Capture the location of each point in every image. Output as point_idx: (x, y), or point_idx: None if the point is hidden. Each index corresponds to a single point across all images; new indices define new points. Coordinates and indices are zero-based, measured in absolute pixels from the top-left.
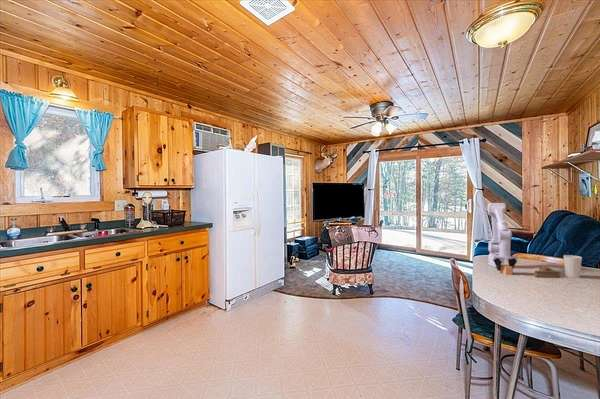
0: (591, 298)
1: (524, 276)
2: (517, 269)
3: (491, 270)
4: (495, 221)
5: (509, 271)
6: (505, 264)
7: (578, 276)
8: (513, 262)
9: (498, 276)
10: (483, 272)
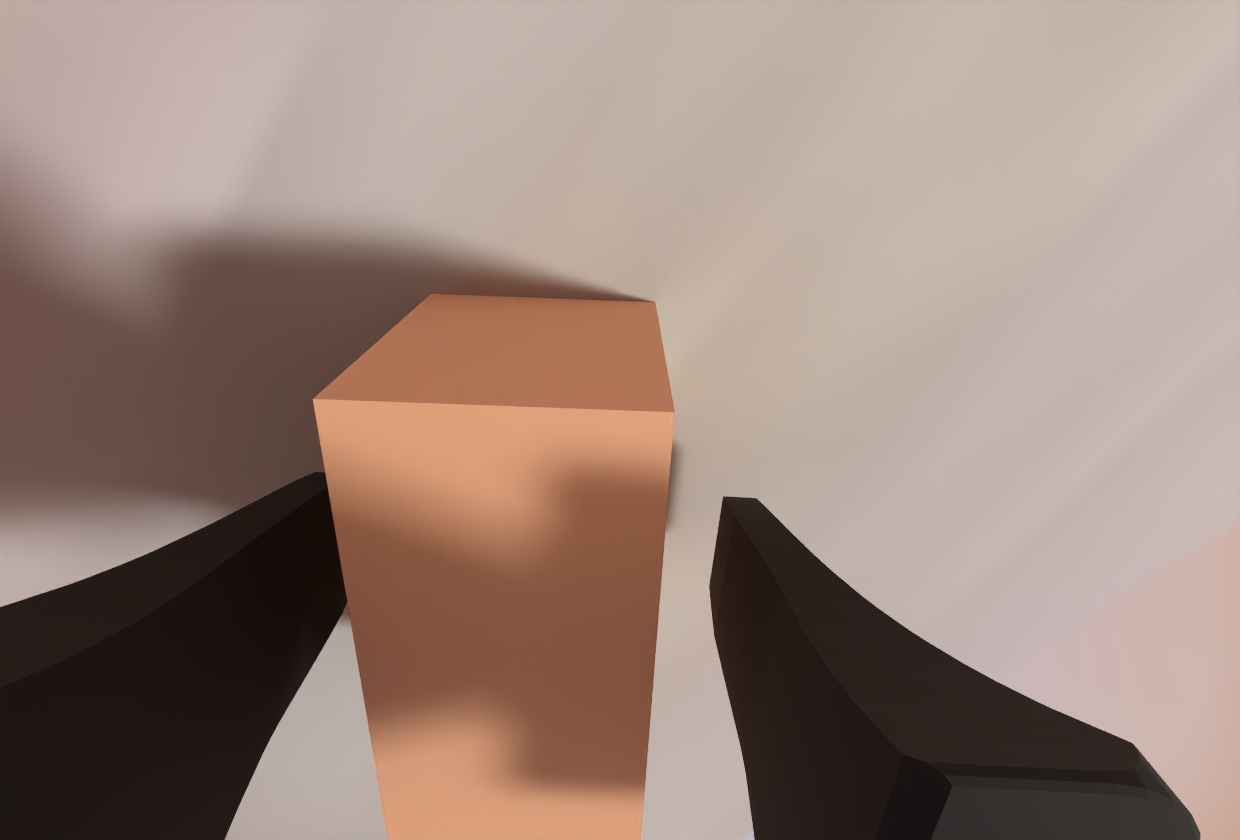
0: None
1: (117, 44)
2: None
3: None
4: None
5: (513, 330)
6: (390, 774)
7: None
8: (26, 661)
9: (1103, 77)
10: (1142, 544)
